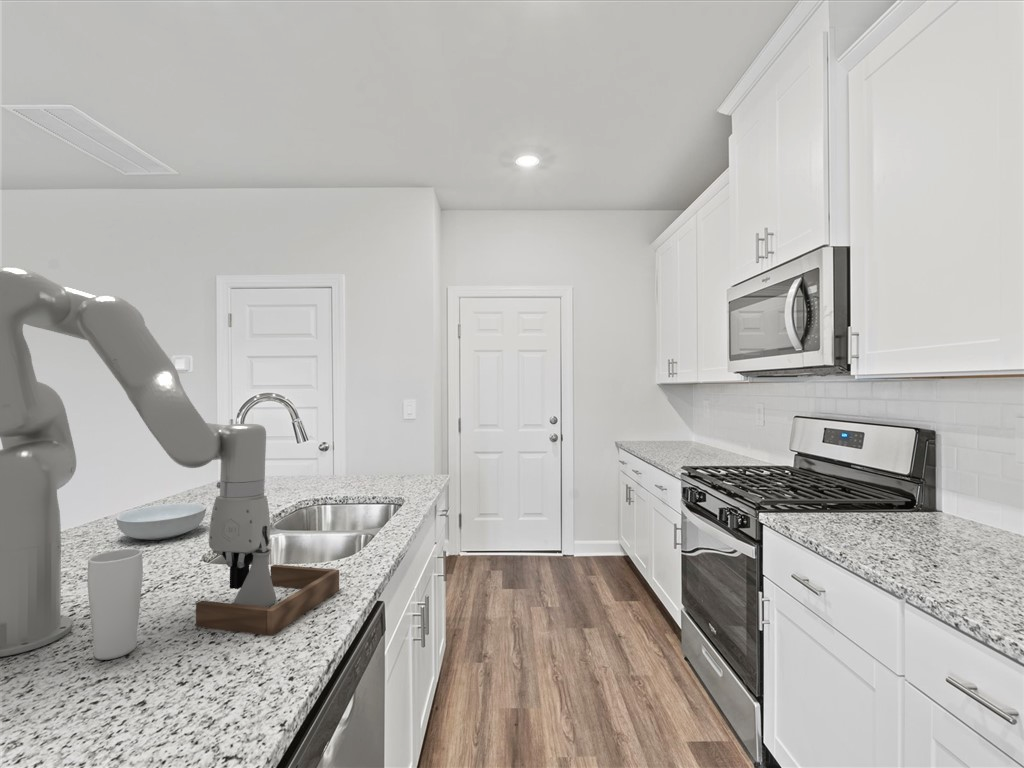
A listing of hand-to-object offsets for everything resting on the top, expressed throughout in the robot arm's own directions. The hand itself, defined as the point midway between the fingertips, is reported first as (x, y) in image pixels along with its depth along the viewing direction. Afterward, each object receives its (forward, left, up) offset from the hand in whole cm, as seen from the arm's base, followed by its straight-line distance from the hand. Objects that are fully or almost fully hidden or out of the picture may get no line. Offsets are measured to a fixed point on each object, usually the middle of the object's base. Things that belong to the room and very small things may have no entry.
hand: (239, 586), depth 98 cm
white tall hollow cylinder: (-20, +5, -4) cm, 21 cm away
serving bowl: (+35, +55, -4) cm, 65 cm away
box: (0, -7, -3) cm, 8 cm away
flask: (0, -3, -3) cm, 4 cm away
